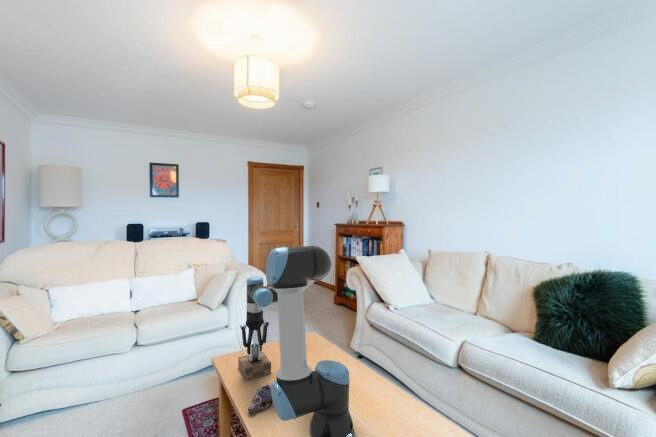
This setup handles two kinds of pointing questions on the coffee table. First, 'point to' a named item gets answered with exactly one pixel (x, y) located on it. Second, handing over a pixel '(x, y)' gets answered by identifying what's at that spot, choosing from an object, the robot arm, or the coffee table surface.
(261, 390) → the purple lumpy piece
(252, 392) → the coffee table surface
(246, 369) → the socket block
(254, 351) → the pin
